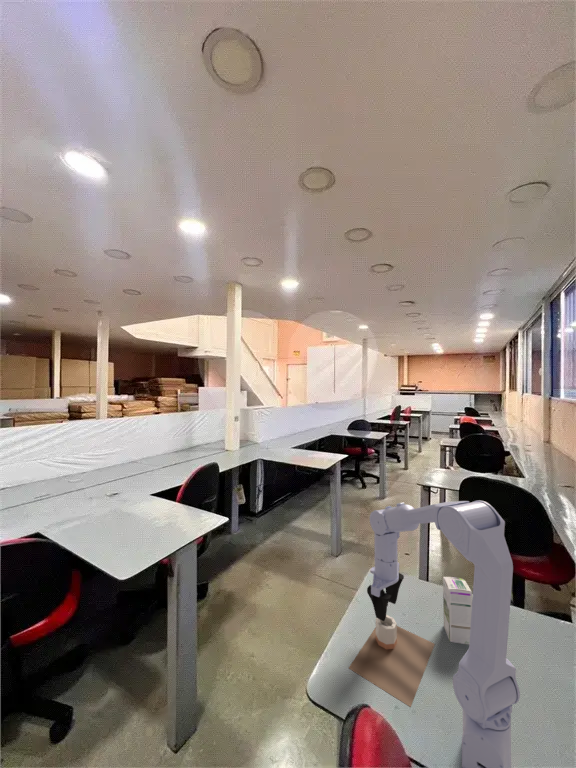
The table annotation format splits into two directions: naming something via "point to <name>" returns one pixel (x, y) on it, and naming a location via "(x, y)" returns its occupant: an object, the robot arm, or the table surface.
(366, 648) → the pin board
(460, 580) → the syrup box
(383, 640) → the sleeve
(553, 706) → the table surface
